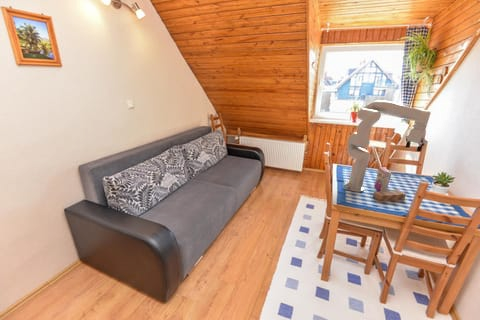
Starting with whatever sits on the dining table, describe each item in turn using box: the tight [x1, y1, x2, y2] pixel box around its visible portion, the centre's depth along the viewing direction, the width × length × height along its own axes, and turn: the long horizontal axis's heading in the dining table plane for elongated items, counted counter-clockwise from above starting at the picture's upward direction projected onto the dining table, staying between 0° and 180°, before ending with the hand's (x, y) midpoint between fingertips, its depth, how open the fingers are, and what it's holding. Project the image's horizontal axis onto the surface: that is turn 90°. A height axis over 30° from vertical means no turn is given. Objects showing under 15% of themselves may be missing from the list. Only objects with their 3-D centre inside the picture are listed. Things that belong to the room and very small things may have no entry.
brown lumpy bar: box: [372, 189, 407, 203], centre depth 156 cm, size 20×6×5 cm, turn 99°
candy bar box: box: [374, 166, 392, 191], centre depth 168 cm, size 11×5×16 cm, turn 168°
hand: (412, 149), depth 169 cm, fingers open, 9 cm apart
